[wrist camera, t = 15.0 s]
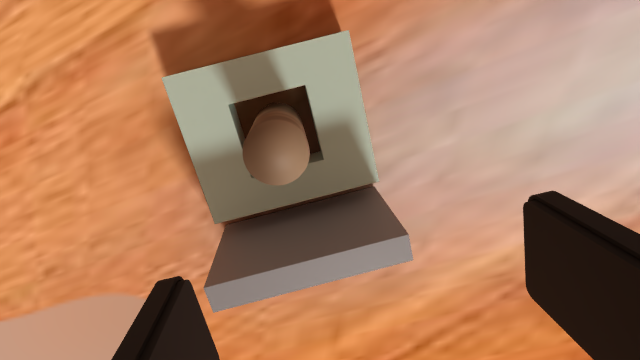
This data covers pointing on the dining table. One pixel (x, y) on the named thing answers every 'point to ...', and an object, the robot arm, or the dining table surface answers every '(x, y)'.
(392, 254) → the low wall
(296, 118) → the walnut peg
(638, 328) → the robot arm
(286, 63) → the socket block
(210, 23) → the dining table surface
